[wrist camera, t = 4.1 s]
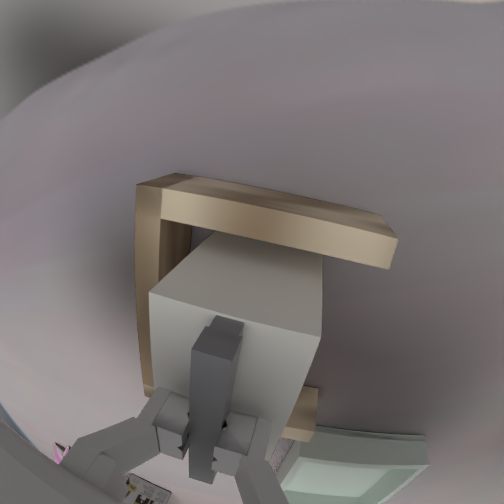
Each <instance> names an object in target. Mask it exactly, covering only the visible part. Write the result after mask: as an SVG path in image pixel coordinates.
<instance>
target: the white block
mask: <svg viewBox="0 0 504 504" xmlns="http://www.w3.org/2000/svg"><path fill="white" fill-rule="evenodd" d="M149 320H150V342H151V358H152V371H153V382H154V391H155V390H156V389H157V388H158V387H159V386H160V387H163V388H165V389H168V390H171V391H173V392H176V393H178V394H181V395H184V396H187V397H189V477H190V478H193V479H196V480H199V481H202V482H205V483H209V484H212V483H213V481H214V478H215V475H216V472H217V471H214V470H211V468H212V461H213V458H214V456H213V453H214V447H215V444H216V441H217V439H218V436H219V433H220V431H221V429H223V428H224V423H225V418H226V416H227V413H228V411H229V410H233V411H237V412H241V413H245V414H249V415H254V416H258V417H260V418H265V419H269V420H272V421H273V424H272V428H271V433H270V437H269V442H268V446H267V450H266V454H265V458H264V460H267V461H270V459H271V456H272V454H273V452H274V450H275V448H276V446H277V444H278V442H279V440H280V437H281V435H282V433H283V431H284V429H285V426H286V424H287V422H288V420H289V417H290V415H291V413H292V410H293V408H294V406H295V403H296V401H297V399H298V396H299V394H300V391H301V389H302V386H303V384H304V381H305V379H306V376H307V374H308V371H309V369H310V366H311V364H312V361H313V358H314V356H315V353H316V350H317V348H318V345H319V342H320V339H321V330H322V254H319V253H315V252H310V251H306V250H302V249H297V248H293V247H288V246H284V245H280V244H275V243H271V242H266V241H262V240H257V239H253V238H248V237H244V236H239V235H235V234H230V233H226V232H221V231H216V230H215V231H214V232H213V233H212V234H211V235H210V236H209V237H208V238H206V239H205V240H204V241H203V242H202V243H201V244H200V245H199V246H198V247H197V248H195V249H194V250H193V251H192V252H191V253H190V254H189V255H188V256H187V257H186V258H184V259H183V260H182V261H181V262H180V263H179V264H178V265H177V266H176V267H175V268H174V269H173V270H172V271H170V272H169V273H168V274H167V275H166V276H165V277H164V278H163V279H162V280H161V281H160V282H159V283H158V284H157V285H156V286H155V287H153V288H152V289H151V290H150V291H149ZM258 417H257V418H258Z"/></svg>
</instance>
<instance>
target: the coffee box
mask: <svg viewBox="0 0 504 504" xmlns="http://www.w3.org/2000/svg"><path fill="white" fill-rule="evenodd" d="M126 484H127V486H128V488H129V491H128V493H127V494H126V496H125V498H124V500H123V502H124V503H127V504H166V503H167V501H168V499H169V497H170V495H171V493H170V492H169V491H166V490H164V489H162V488H160V487H158V486H155V485H153V484H151V483H149V482H147V481H145V480H143V479H141V478H139V477H137V476H136V475H134V474H131V475H130V477H129V479H128V480H127V482H126Z"/></svg>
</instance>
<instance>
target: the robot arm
mask: <svg viewBox="0 0 504 504" xmlns="http://www.w3.org/2000/svg"><path fill="white" fill-rule="evenodd" d="M257 417H258V416H254V415H249V414H245V413H241V412H237V411H233V410H229V411H228V413H227V416H226V418H225V423H224V428H223V429H221V431H220V433H219V436H218V439H217V441H216V444H215V447H214V453H213V456H214V458H213V461H212V468H211V470H214V471H218V472H221V473H224V474H228V475H231V476H235V480H236V483H237V486H238V489H239V492H240V495H241V498H242V501H243V504H289V502H288V500H287V498H286V496H285V494H284V492H283V490H282V488H281V486H280V484H279V482H278V480H277V478H276V476H275V474H274V472H273V469H272V467H271V465H270V463H269V461H267V460H264V458H265V454H266V450H267V446H268V442H269V437H270V433H271V428H272V424H273V421H272V420H269V419H265V418H260V417H258V418H257ZM188 447H189V397H187V396H184V395H181V394H178V393H176V392H173V391H171V390H168V389H165V388H163V387H160V386H159V387H158V388H157V389H156V390H155V391H154V393H153V394H152V396H151V397H150V399H149V400H148V402H147V404H146V405H145V407H144V408H143V410H142V411H141V413H140V414H139V416H138V417H137V418H134V417H132V418H130V419H127V420H125V421H122V422H120V423H118V424H115V425H113V426H110V427H108V428H105V429H102V430H100V431H97V432H95V433H92V434H89V435H87V436H84V437H81V438H78V439H77V441H76V442H75V443H74V445H73V446H72V447H71V449H70V450H69V451H68V453H67V454H66V455H65V457H64V458H63V459H62V461H61V462H60V463H59V465H58V464H57V463H56V462H54V461H53V460H51V459H50V458H48V457H47V456H46V455H44V454H43V453H42V452H40V451H39V450H38V449H36V448H35V447H34V446H32V445H31V444H30V443H29V442H27V441H26V440H25V439H24V438H22V437H21V436H20V435H19V434H17V433H16V432H15V431H14V430H13V429H12V428H10V427H9V426H8V425H7V424H6V423H5V422H4V421H3V420H2V419H1V418H0V504H127V503H124V502H123V500H124V498H125V496H126V494H127V493H128V491H129V488H128V486H127V484H126V482H125V480H124V478H123V476H122V474H124V473H126V472H128V471H130V470H132V469H133V468H135V467H137V466H139V465H141V464H142V463H144V462H146V461H148V460H149V459H151V458H153V457H154V456H156V455H158V454H160V452H161V453H164V454H166V455H169V456H172V457H175V458H178V459H181V460H183V458H184V456H185V454H186V452H187V450H188Z"/></svg>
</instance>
